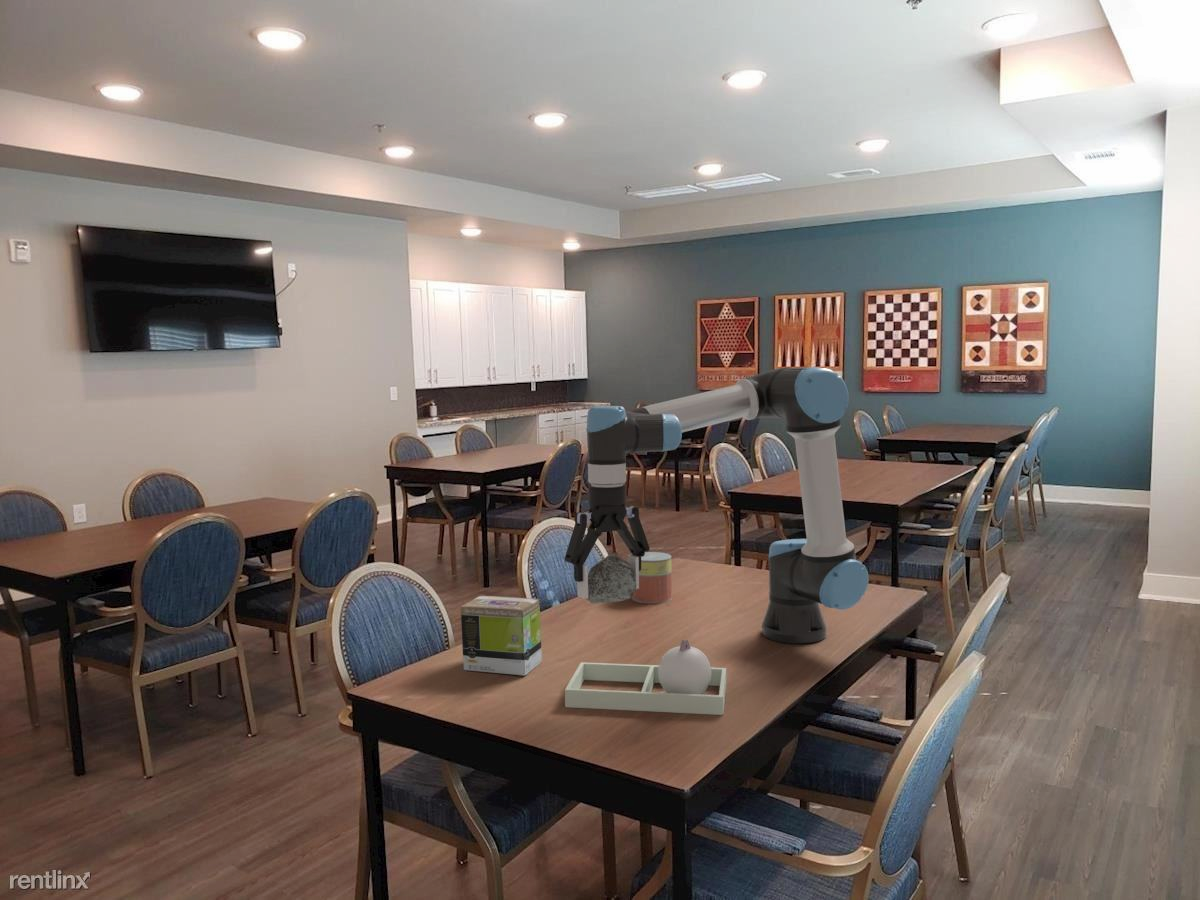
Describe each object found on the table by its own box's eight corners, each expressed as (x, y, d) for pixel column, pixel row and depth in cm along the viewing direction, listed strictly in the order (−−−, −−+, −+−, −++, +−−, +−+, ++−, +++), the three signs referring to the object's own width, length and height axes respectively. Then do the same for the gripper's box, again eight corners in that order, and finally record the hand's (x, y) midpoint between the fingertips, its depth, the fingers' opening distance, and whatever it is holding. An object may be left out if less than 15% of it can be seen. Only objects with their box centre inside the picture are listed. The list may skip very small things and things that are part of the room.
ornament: (697, 711, 167) (696, 650, 166) (650, 701, 172) (649, 642, 171) (719, 693, 175) (719, 635, 174) (673, 684, 181) (673, 627, 180)
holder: (726, 684, 180) (726, 668, 180) (723, 715, 165) (723, 697, 164) (581, 678, 186) (580, 662, 185) (565, 707, 170) (564, 689, 170)
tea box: (543, 662, 196) (541, 597, 195) (524, 677, 187) (522, 610, 185) (482, 656, 201) (480, 593, 200) (461, 671, 192) (459, 605, 190)
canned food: (634, 592, 253) (633, 551, 252) (673, 593, 252) (672, 551, 251) (630, 603, 242) (629, 560, 241) (670, 603, 241) (670, 560, 240)
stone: (609, 554, 170) (619, 542, 179) (572, 585, 172) (583, 572, 182) (642, 592, 169) (649, 578, 179) (604, 623, 172) (614, 607, 181)
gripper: (644, 477, 183) (645, 579, 185) (545, 487, 170) (547, 597, 172) (666, 481, 177) (667, 586, 179) (565, 492, 163) (567, 606, 166)
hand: (608, 592), depth 175 cm, fingers closed on stone, 12 cm apart
